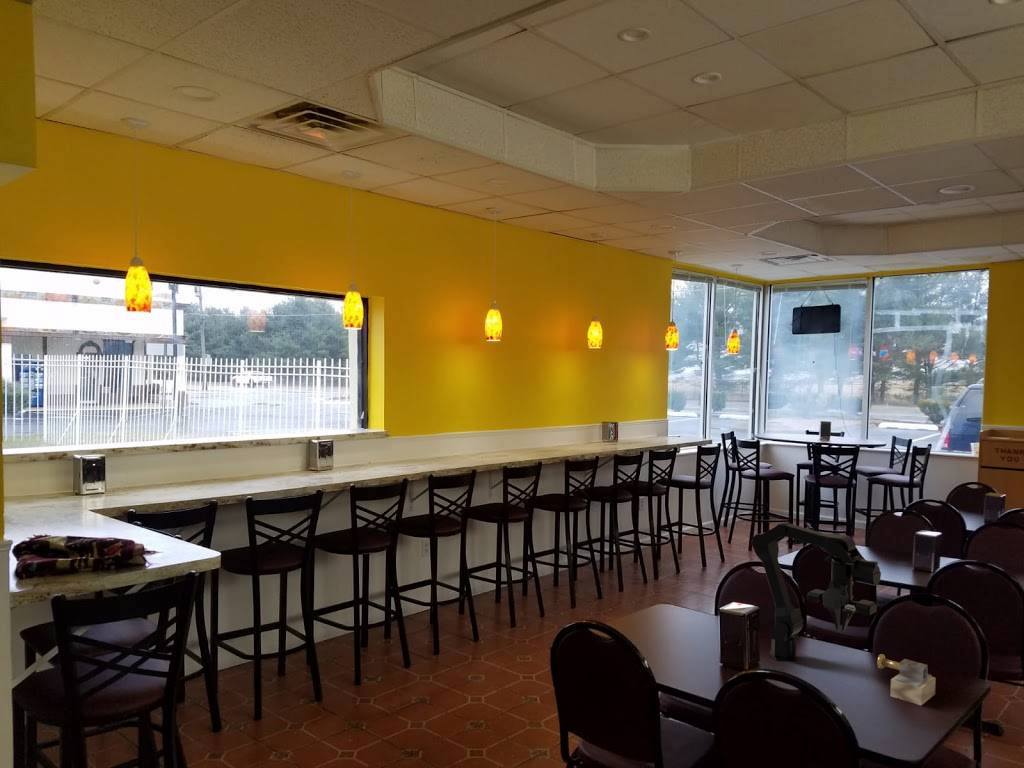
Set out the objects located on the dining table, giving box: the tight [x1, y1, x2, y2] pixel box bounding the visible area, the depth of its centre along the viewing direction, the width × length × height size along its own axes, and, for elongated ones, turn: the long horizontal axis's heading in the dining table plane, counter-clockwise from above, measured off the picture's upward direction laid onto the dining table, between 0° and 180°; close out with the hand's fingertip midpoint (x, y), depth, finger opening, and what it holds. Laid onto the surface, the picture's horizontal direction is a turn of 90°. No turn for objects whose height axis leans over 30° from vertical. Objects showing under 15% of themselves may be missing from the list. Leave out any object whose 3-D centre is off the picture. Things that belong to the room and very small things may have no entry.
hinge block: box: [890, 658, 936, 706], centre depth 214 cm, size 8×11×9 cm
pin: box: [876, 653, 900, 671], centre depth 218 cm, size 9×4×4 cm, turn 43°
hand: (840, 630), depth 229 cm, fingers closed
